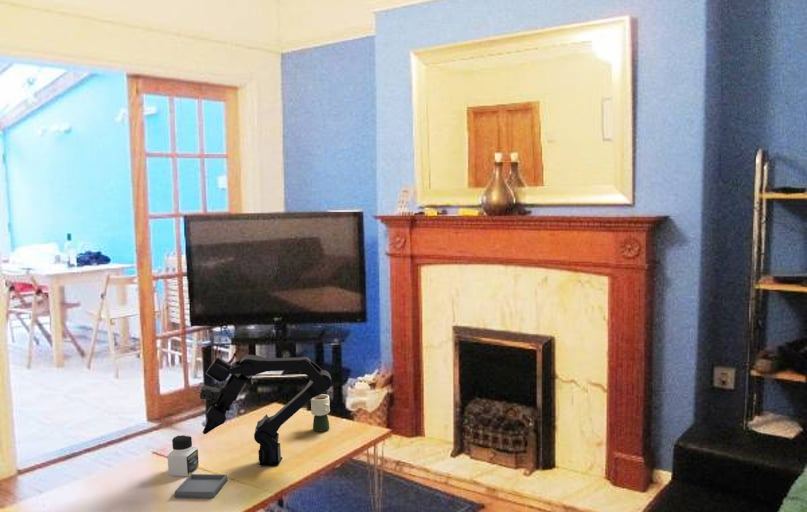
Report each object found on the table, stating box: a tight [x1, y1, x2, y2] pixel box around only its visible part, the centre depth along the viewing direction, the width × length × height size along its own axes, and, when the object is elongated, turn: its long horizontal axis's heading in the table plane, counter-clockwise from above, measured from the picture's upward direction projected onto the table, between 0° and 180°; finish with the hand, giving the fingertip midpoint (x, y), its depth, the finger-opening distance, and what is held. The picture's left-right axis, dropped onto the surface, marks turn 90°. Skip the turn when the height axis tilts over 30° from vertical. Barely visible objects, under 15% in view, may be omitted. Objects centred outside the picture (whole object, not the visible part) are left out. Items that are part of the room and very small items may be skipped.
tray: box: [174, 473, 228, 499], centre depth 204 cm, size 12×12×2 cm
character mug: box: [310, 393, 331, 432], centre depth 251 cm, size 11×7×13 cm, turn 43°
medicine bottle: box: [167, 434, 200, 478], centre depth 216 cm, size 7×7×12 cm
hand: (205, 428), depth 218 cm, fingers open, 9 cm apart
